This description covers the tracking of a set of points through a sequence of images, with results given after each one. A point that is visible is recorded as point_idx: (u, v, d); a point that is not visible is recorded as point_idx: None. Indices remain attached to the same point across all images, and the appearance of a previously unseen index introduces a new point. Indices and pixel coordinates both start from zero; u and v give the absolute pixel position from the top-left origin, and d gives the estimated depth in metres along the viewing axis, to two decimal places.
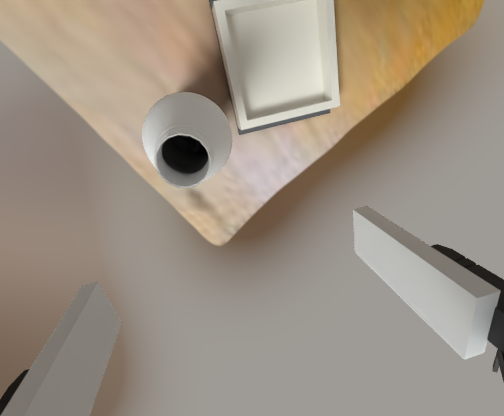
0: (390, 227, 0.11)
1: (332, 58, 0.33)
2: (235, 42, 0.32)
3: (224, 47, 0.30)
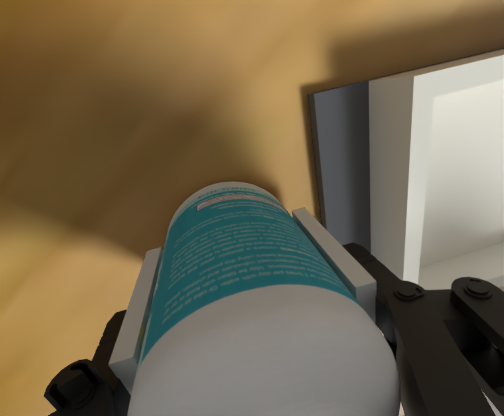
0: (315, 227, 0.12)
1: None
2: (426, 256, 0.18)
3: None
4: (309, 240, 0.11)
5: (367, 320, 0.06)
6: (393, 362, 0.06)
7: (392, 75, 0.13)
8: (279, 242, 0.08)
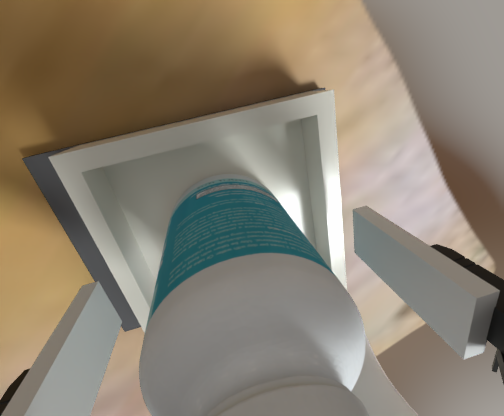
0: (390, 227, 0.11)
1: (222, 129, 0.13)
2: None
3: None
4: None
5: (336, 282, 0.08)
6: (357, 316, 0.08)
7: None
8: (267, 223, 0.10)
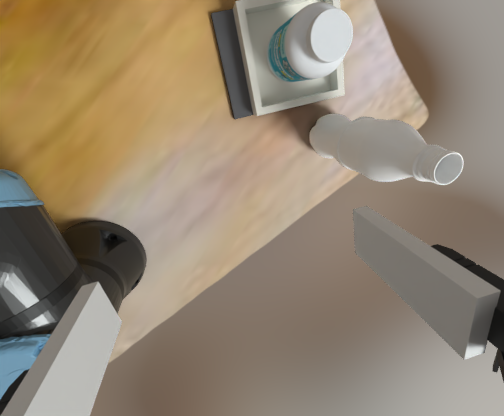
0: (390, 227, 0.11)
1: None
2: (275, 96, 0.40)
3: (285, 108, 0.39)
4: None
5: None
6: None
7: None
8: None
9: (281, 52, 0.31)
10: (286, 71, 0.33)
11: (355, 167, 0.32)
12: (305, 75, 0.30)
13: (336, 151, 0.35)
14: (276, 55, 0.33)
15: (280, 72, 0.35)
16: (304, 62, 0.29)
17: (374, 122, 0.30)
